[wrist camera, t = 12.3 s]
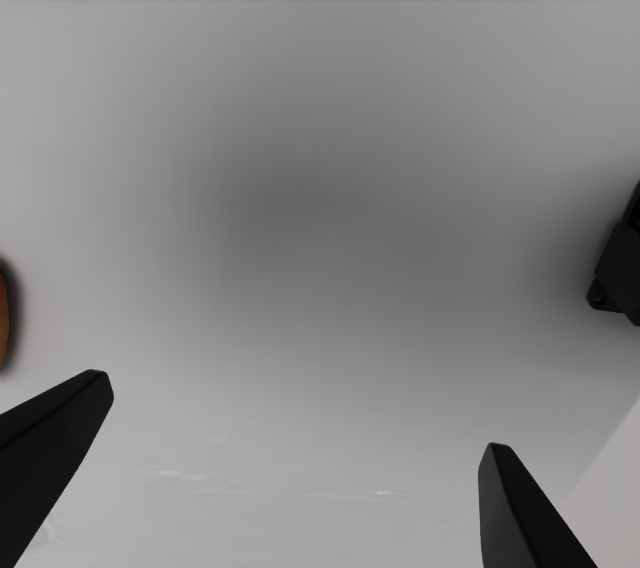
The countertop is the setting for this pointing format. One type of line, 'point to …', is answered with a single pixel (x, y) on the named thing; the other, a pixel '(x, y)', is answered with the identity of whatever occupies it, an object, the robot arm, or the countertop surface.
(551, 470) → the countertop surface
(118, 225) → the countertop surface
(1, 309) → the hot dog
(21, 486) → the robot arm
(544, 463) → the countertop surface
